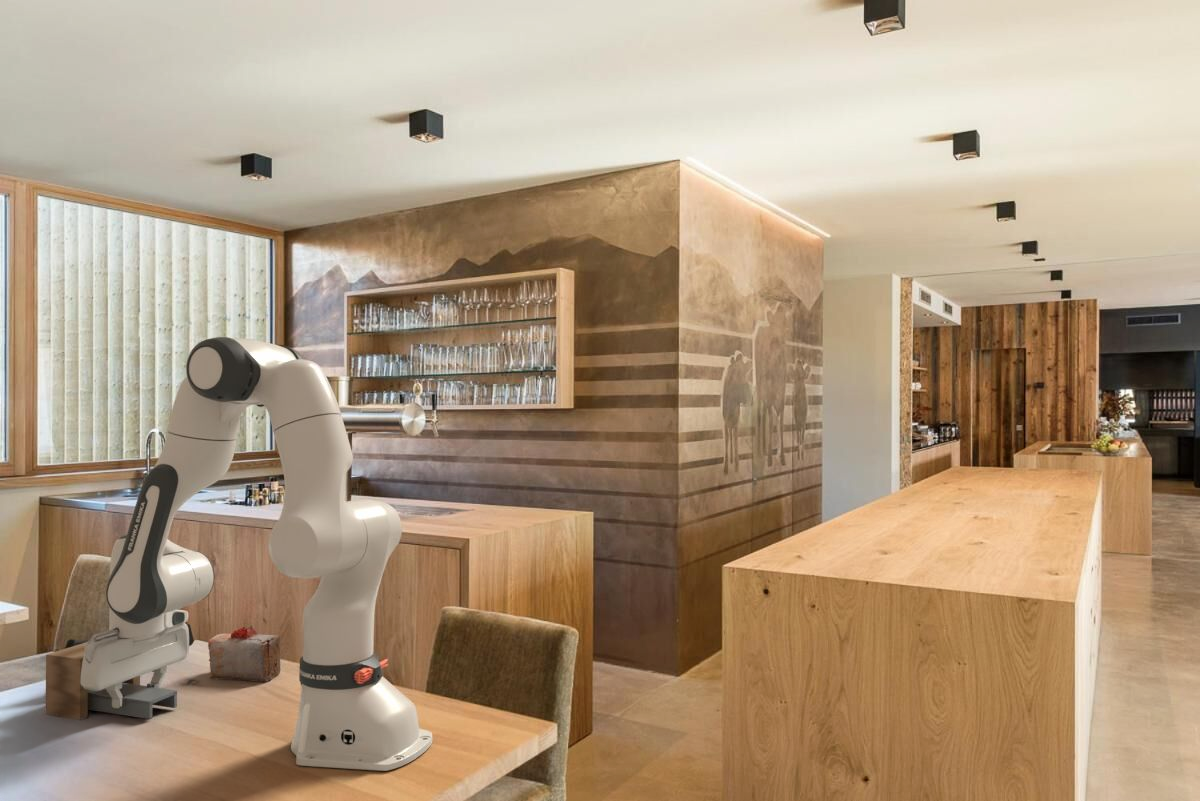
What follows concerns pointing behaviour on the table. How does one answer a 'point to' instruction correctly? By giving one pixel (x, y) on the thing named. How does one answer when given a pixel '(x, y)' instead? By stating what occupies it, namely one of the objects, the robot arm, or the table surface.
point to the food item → (244, 655)
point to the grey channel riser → (133, 700)
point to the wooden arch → (68, 683)
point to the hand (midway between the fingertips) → (137, 699)
